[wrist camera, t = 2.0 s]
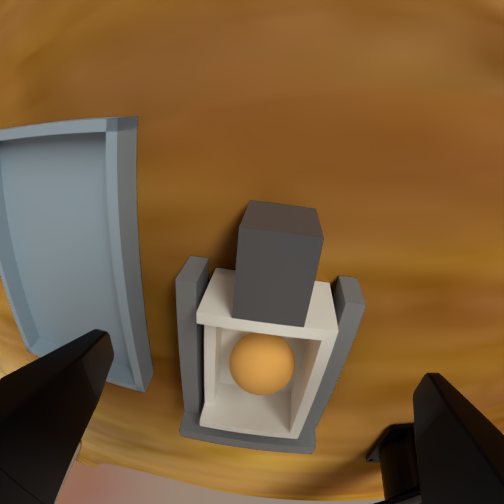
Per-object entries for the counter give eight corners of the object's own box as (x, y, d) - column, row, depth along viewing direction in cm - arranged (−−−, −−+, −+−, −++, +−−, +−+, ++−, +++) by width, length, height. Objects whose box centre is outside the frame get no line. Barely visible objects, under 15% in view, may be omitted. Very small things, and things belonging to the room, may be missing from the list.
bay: (311, 409, 21) (311, 454, 17) (193, 393, 21) (180, 436, 18) (356, 277, 16) (372, 324, 12) (190, 255, 16) (164, 297, 13)
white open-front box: (298, 391, 20) (297, 438, 16) (212, 380, 20) (199, 425, 17) (345, 210, 14) (363, 244, 11) (220, 193, 15) (197, 221, 11)
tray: (153, 373, 21) (144, 392, 19) (40, 337, 21) (28, 351, 20) (137, 116, 13) (117, 118, 12) (-1, 129, 14) (-22, 134, 12)
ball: (287, 373, 18) (291, 410, 15) (229, 368, 18) (223, 404, 15) (296, 323, 17) (304, 355, 14) (234, 317, 17) (228, 348, 14)
